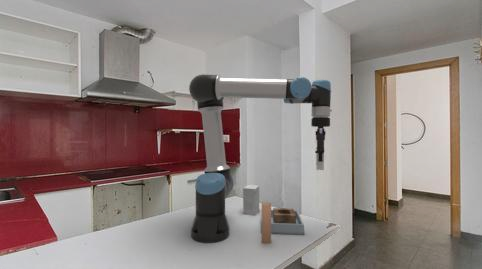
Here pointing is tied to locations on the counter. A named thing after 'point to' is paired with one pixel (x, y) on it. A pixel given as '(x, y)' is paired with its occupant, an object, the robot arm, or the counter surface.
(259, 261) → the counter surface
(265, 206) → the peg
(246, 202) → the small box
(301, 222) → the tray
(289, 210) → the block
